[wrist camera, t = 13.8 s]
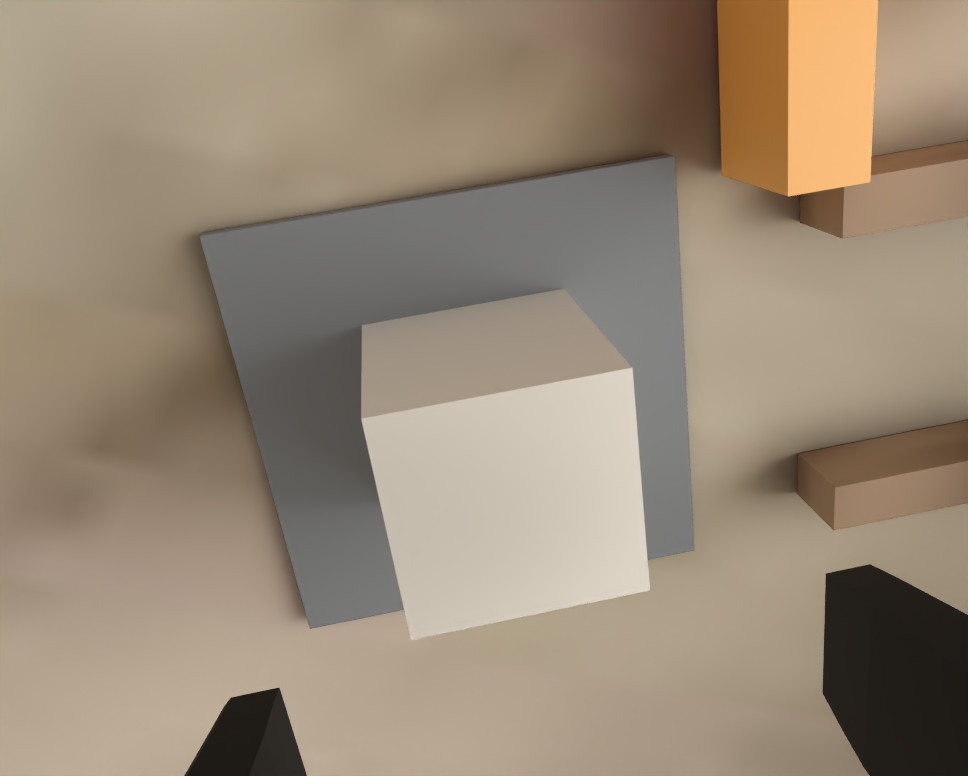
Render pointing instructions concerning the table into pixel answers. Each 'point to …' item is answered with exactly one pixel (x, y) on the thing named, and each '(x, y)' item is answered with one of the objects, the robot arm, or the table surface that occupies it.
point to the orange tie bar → (797, 92)
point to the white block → (503, 461)
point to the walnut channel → (911, 455)
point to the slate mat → (430, 288)
